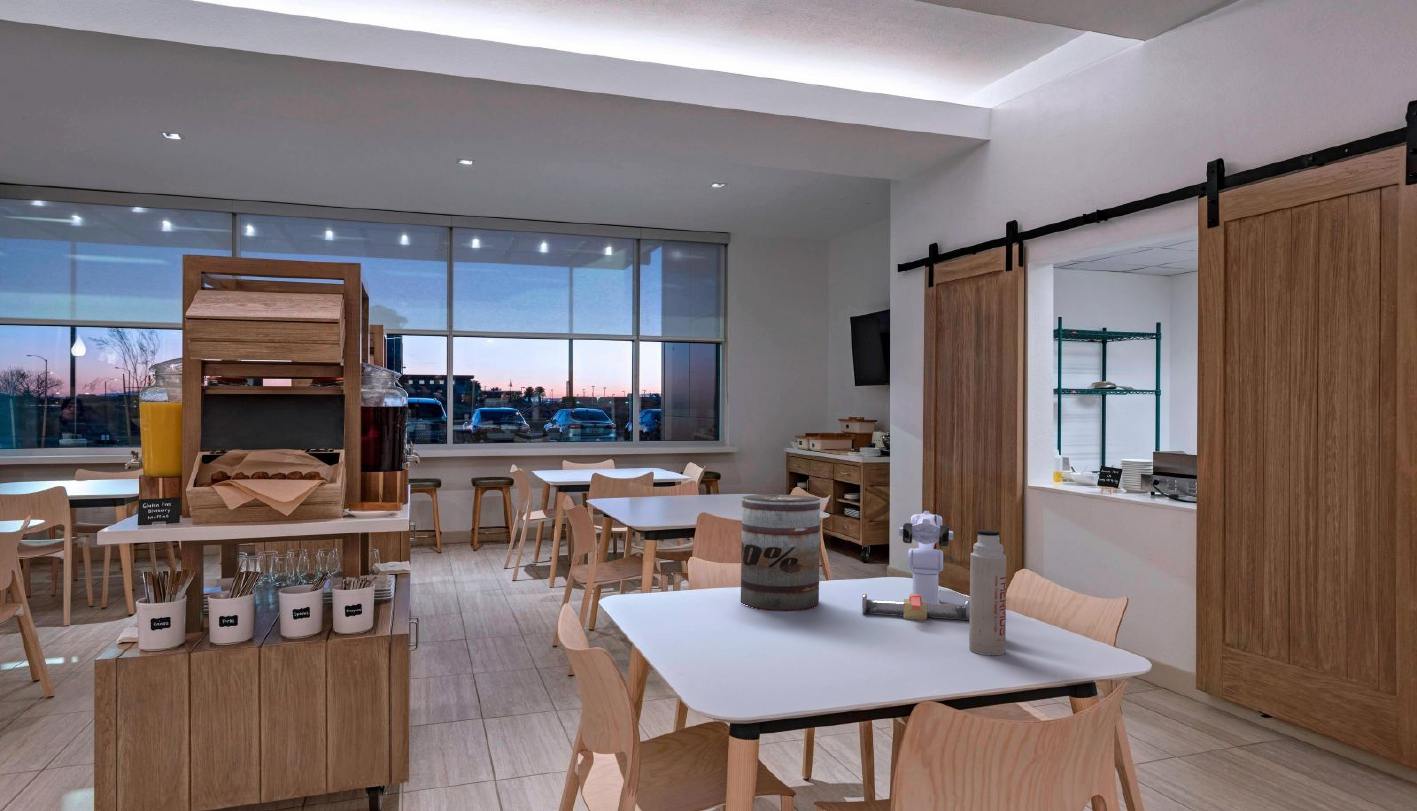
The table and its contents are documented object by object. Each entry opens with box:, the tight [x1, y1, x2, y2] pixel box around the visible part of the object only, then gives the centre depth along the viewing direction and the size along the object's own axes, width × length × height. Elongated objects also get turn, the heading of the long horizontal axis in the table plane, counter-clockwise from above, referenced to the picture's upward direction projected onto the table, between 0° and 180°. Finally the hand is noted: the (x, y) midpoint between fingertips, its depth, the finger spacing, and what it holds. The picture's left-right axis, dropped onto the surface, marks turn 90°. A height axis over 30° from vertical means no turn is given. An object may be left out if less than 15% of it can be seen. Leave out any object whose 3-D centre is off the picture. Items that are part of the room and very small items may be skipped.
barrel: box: [740, 493, 821, 612], centre depth 248 cm, size 22×22×30 cm
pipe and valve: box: [861, 593, 970, 621], centre depth 233 cm, size 6×28×5 cm, turn 77°
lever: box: [908, 593, 922, 610], centre depth 228 cm, size 14×3×1 cm, turn 167°
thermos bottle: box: [968, 529, 1007, 656], centre depth 200 cm, size 8×8×28 cm
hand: (925, 539), depth 231 cm, fingers open, 7 cm apart
